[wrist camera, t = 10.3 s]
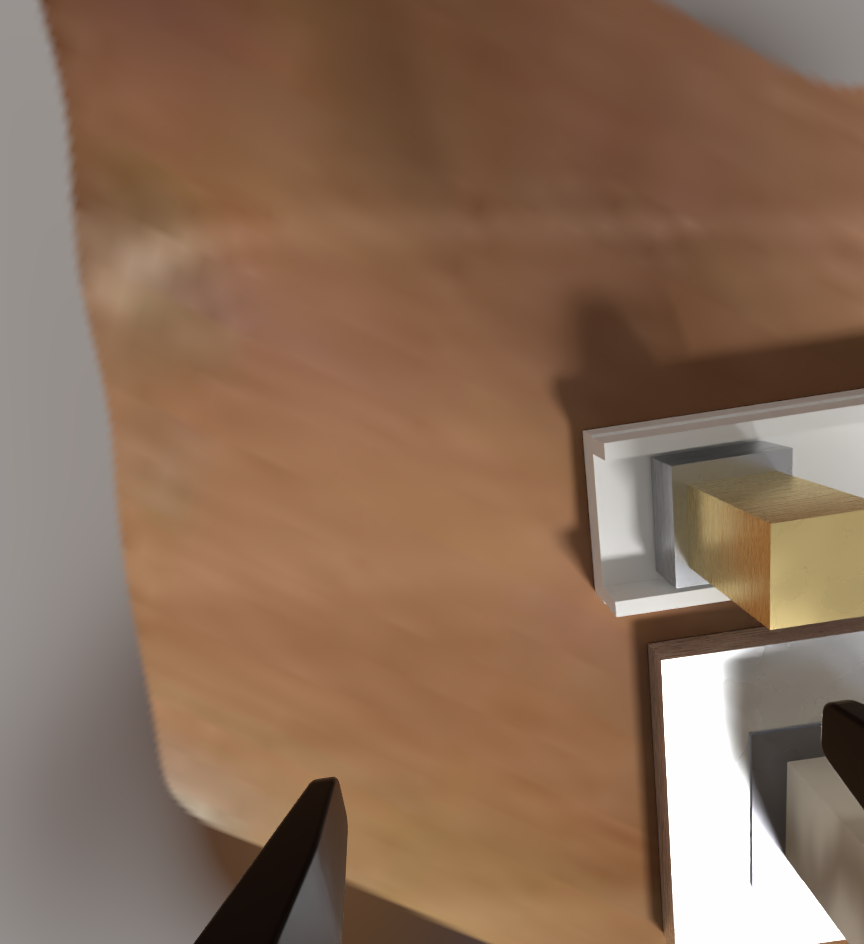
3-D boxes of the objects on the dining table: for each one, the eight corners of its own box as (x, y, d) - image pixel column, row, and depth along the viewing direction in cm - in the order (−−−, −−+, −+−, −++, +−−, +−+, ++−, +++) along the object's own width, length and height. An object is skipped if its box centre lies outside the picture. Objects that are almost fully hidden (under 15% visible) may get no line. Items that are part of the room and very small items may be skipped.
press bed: (990, 887, 24) (1022, 916, 23) (663, 934, 24) (677, 965, 23) (1032, 586, 21) (1071, 602, 19) (647, 643, 21) (662, 662, 19)
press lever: (761, 555, 19) (899, 634, 13) (656, 570, 19) (751, 655, 13) (761, 440, 18) (910, 476, 12) (650, 457, 18) (751, 500, 12)
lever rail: (941, 540, 20) (1003, 562, 18) (595, 591, 20) (616, 619, 18) (955, 374, 18) (1026, 376, 16) (582, 430, 19) (604, 440, 16)
